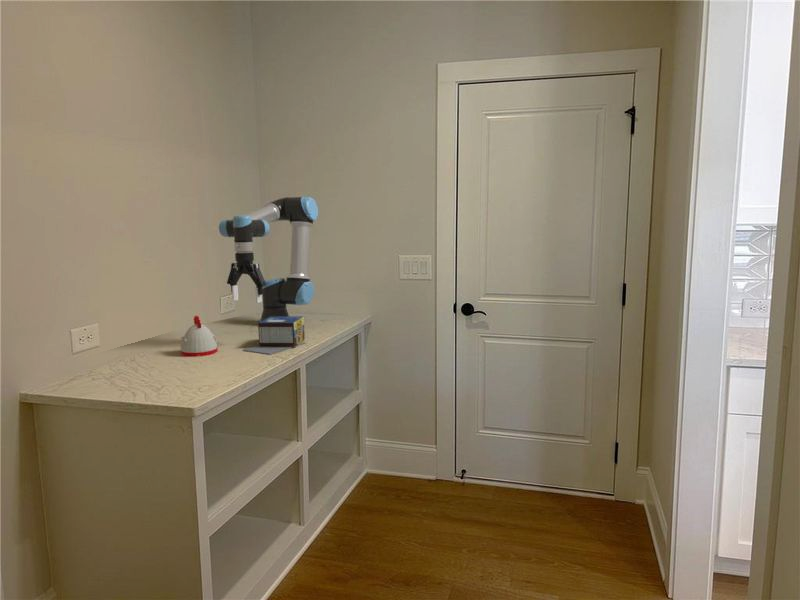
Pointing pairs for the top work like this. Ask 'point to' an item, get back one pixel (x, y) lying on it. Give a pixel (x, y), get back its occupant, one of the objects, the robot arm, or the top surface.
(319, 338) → the top surface
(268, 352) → the slate rubber mat
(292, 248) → the robot arm
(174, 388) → the top surface
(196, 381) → the top surface
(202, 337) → the kitchen timer
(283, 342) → the protein box
